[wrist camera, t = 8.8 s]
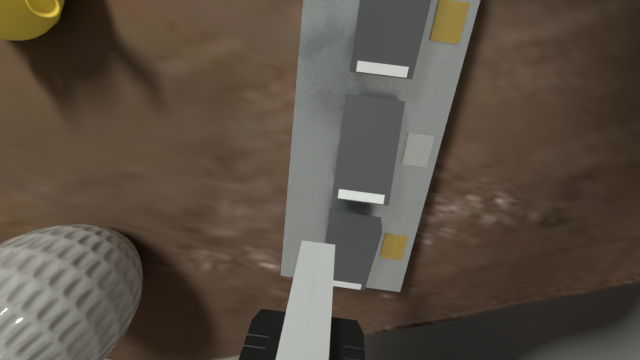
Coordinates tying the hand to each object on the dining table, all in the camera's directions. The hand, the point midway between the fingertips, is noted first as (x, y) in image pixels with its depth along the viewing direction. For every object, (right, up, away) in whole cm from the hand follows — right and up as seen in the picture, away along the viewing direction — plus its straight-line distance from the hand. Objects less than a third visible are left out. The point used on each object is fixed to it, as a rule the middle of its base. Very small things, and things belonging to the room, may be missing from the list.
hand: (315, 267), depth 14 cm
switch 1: (+6, +17, +9) cm, 20 cm away
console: (+5, +9, +20) cm, 23 cm away
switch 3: (+3, -3, +18) cm, 18 cm away
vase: (-28, -6, +29) cm, 41 cm away
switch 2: (+4, +7, +14) cm, 16 cm away
